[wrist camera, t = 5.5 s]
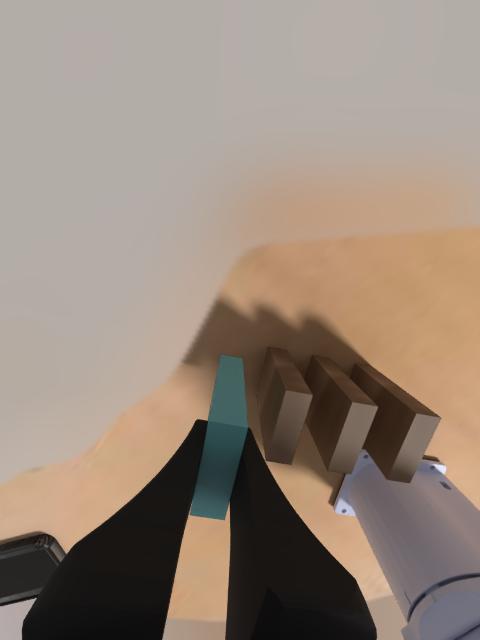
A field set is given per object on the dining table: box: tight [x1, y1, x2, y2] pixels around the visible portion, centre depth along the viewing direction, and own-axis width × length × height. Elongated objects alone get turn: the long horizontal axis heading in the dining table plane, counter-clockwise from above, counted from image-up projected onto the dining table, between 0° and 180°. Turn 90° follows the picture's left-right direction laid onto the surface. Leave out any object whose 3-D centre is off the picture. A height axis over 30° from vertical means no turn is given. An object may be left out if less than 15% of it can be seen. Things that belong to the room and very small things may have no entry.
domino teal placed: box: [190, 354, 248, 520], centre depth 13 cm, size 2×5×7 cm, turn 168°
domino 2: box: [305, 355, 378, 474], centre depth 17 cm, size 2×5×7 cm, turn 169°
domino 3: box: [350, 363, 441, 483], centre depth 17 cm, size 2×5×7 cm, turn 168°
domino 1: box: [257, 347, 313, 465], centre depth 17 cm, size 2×5×7 cm, turn 168°
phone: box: [0, 534, 67, 606], centre depth 25 cm, size 8×1×15 cm
